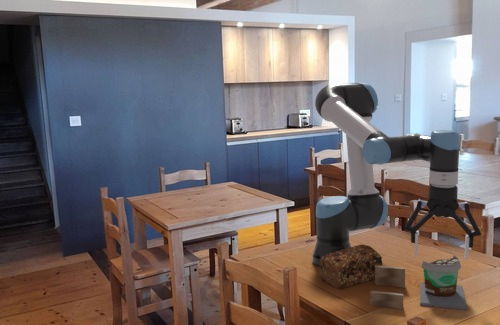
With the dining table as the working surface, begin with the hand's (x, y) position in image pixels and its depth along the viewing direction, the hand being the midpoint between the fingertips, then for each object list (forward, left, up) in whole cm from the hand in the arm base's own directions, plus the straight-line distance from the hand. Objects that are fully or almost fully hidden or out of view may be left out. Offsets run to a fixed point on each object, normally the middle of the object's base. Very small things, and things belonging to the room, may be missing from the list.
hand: (440, 255), depth 135 cm
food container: (+1, 0, -12) cm, 12 cm away
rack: (-15, -3, -12) cm, 19 cm away
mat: (0, 0, -12) cm, 12 cm away
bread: (-27, +7, -13) cm, 31 cm away
